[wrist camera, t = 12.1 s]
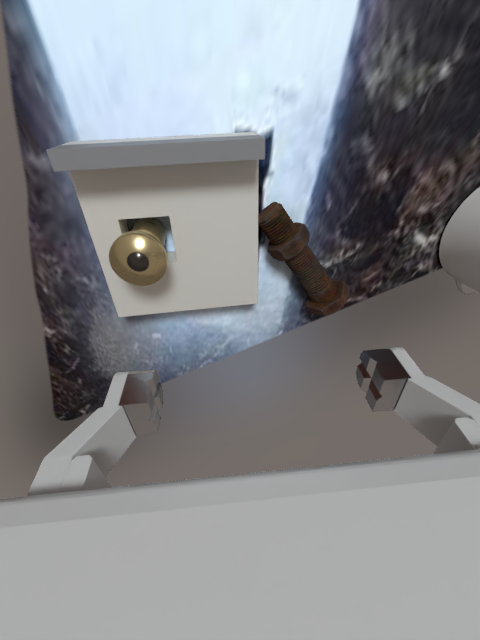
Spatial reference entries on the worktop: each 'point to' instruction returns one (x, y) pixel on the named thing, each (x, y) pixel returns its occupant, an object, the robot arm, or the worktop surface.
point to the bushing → (140, 253)
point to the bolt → (301, 260)
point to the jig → (174, 213)
